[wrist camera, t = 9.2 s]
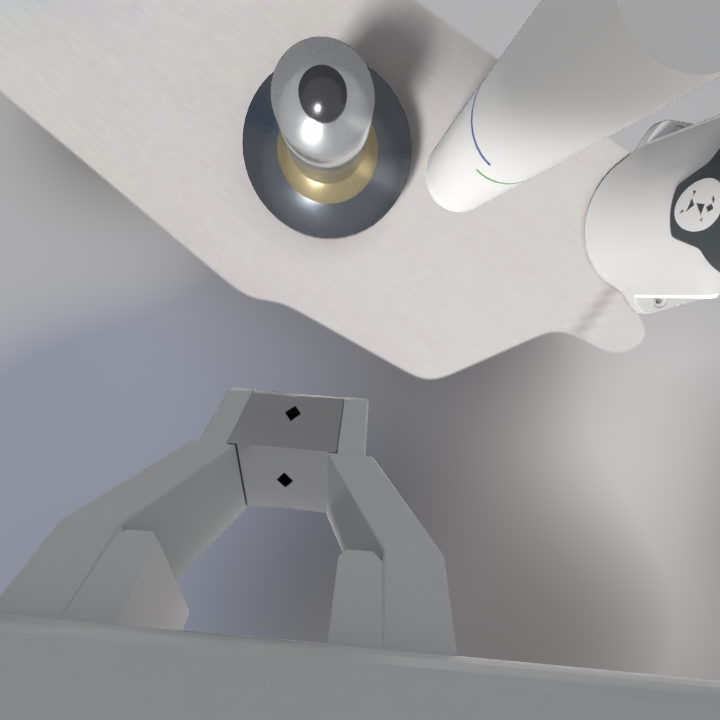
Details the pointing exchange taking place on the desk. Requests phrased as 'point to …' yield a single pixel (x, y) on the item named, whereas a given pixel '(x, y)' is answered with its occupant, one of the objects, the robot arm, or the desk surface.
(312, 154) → the silver metal canister
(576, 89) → the cylindrical container
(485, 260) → the desk surface
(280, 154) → the turntable platter
